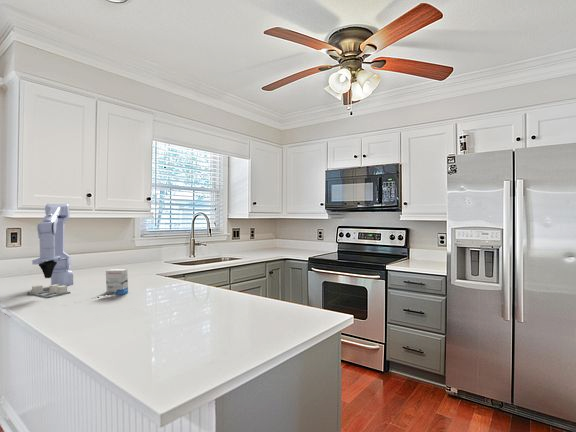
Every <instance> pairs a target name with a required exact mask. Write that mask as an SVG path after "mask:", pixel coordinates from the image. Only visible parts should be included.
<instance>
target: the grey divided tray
mask: <svg viewBox="0 0 576 432" xmlns="http://www.w3.org/2000/svg"><path fill="white" fill-rule="evenodd" d="M69 294H71V291H69V290H67V292H66V293H61V294H57V292H54V293H50V288H45V289H43V292H41V293H32V291H29V292H27V295H31V296H36V297H40V298H45V299H49V298H51V299H52V298H54V297H60V296H65V295H69Z"/></svg>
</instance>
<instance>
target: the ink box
mask: <svg viewBox="0 0 576 432" xmlns="http://www.w3.org/2000/svg"><path fill="white" fill-rule="evenodd" d="M128 279H129V277H128V269H127V268H125V269H124V268H123V269H122V268H115V269H114V268H112V269H107V270H106V271H105V280H106V281H105V282H106V284H105V286H106V293H107V294H106V295H107V296H109V295H110V296H111V295H114V296H115V295H117V296H119V295H121V296H123V295H125V294H127V293H129V281H128Z"/></svg>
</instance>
